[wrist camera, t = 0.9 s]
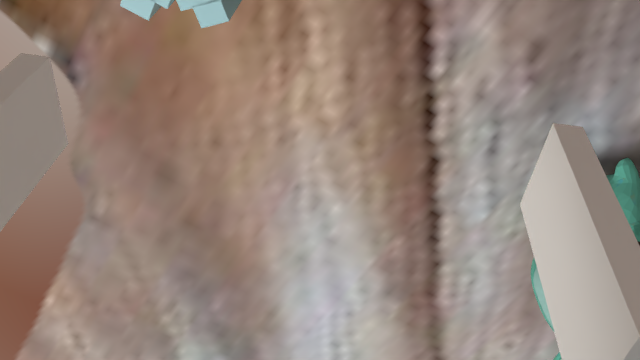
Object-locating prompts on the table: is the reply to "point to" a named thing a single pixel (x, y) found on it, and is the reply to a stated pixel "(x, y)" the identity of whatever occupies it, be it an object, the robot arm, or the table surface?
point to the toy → (636, 203)
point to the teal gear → (208, 4)
